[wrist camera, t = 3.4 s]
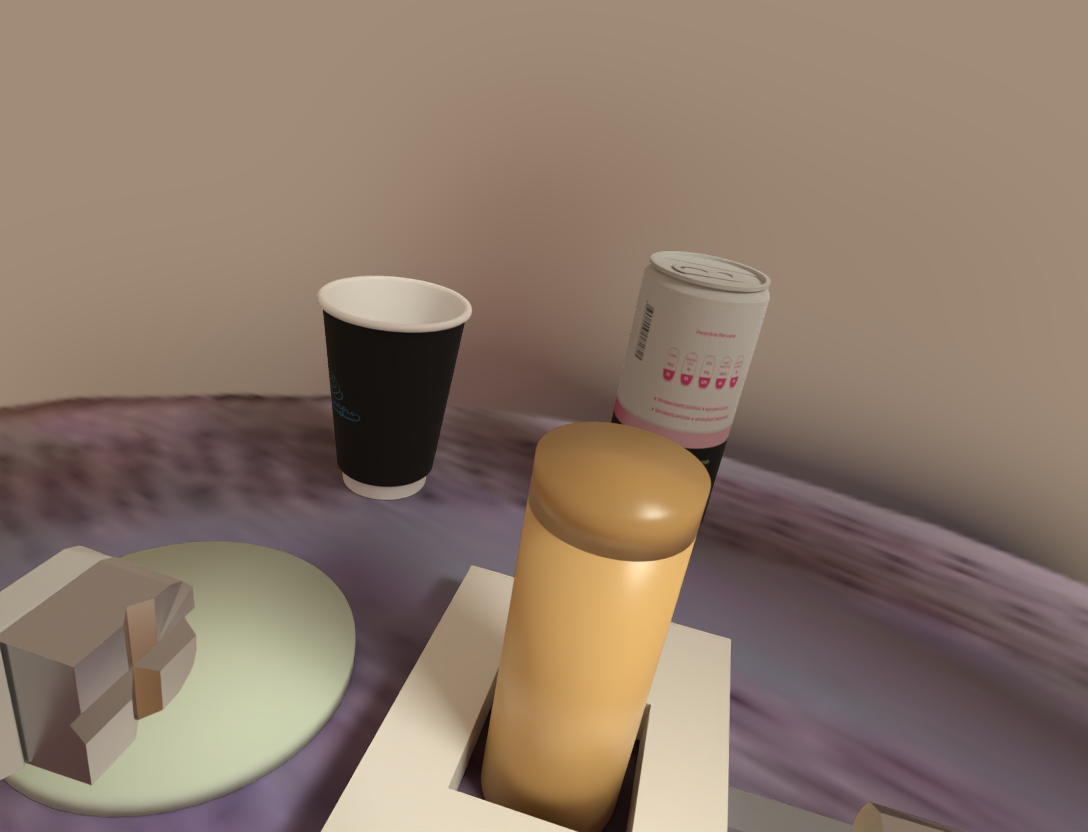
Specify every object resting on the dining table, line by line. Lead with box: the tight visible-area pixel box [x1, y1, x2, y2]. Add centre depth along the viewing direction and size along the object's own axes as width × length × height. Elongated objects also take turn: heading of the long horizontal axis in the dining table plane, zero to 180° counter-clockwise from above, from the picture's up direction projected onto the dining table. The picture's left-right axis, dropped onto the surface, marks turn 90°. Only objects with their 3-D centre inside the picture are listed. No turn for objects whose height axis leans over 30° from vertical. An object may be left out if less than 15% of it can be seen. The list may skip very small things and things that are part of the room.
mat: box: [3, 541, 356, 817], centre depth 29 cm, size 13×13×1 cm
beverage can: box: [611, 251, 771, 525], centre depth 41 cm, size 7×7×15 cm
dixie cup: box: [317, 276, 472, 500], centre depth 40 cm, size 8×8×11 cm
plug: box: [481, 422, 711, 832], centre depth 24 cm, size 5×5×14 cm
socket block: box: [321, 565, 854, 832], centre depth 25 cm, size 16×20×2 cm
